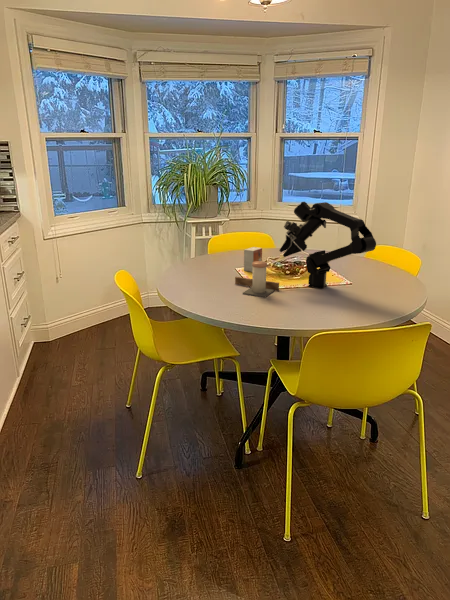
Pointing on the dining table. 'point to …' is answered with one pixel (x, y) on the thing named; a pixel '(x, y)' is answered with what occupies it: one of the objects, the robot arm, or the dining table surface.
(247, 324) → the dining table surface
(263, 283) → the canister
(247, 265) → the small box
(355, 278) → the dining table surface
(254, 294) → the mat
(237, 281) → the wall
